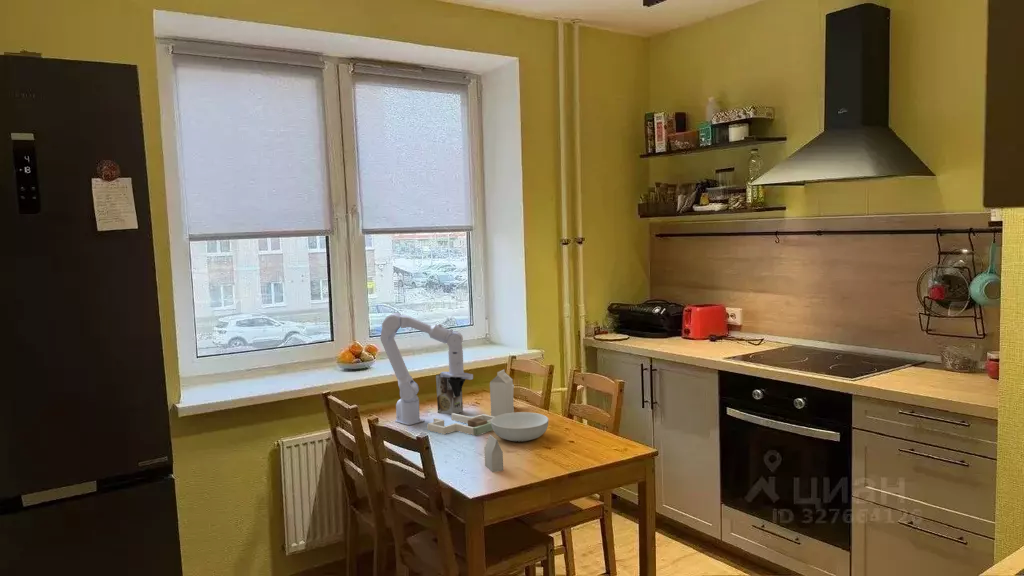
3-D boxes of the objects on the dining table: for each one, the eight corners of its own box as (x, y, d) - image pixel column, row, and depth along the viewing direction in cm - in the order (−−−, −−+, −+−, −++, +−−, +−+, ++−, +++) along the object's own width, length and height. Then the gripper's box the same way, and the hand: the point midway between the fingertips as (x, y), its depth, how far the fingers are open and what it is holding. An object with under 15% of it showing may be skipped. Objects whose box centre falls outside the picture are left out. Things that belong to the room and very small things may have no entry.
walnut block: (468, 430, 269) (467, 420, 269) (477, 428, 272) (476, 417, 272) (478, 433, 264) (477, 423, 264) (487, 431, 268) (486, 420, 267)
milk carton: (491, 419, 283) (489, 372, 282) (498, 414, 290) (496, 368, 288) (507, 420, 281) (505, 373, 279) (514, 415, 287) (512, 369, 286)
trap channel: (421, 428, 273) (421, 421, 273) (465, 415, 290) (465, 409, 289) (463, 439, 257) (462, 432, 256) (507, 425, 273) (506, 418, 273)
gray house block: (492, 472, 221) (491, 440, 220) (485, 466, 227) (483, 435, 226) (503, 470, 222) (502, 439, 222) (495, 464, 229) (494, 433, 228)
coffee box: (463, 411, 297) (462, 373, 296) (454, 415, 292) (452, 376, 291) (446, 409, 302) (444, 371, 301) (437, 412, 297) (435, 374, 296)
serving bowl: (482, 444, 250) (482, 425, 250) (503, 428, 270) (503, 410, 269) (538, 448, 243) (538, 429, 243) (556, 431, 263) (555, 413, 262)
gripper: (435, 362, 282) (436, 396, 283) (465, 365, 274) (466, 400, 275) (445, 359, 288) (447, 392, 289) (475, 362, 280) (476, 396, 281)
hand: (457, 396), depth 282 cm, fingers closed
